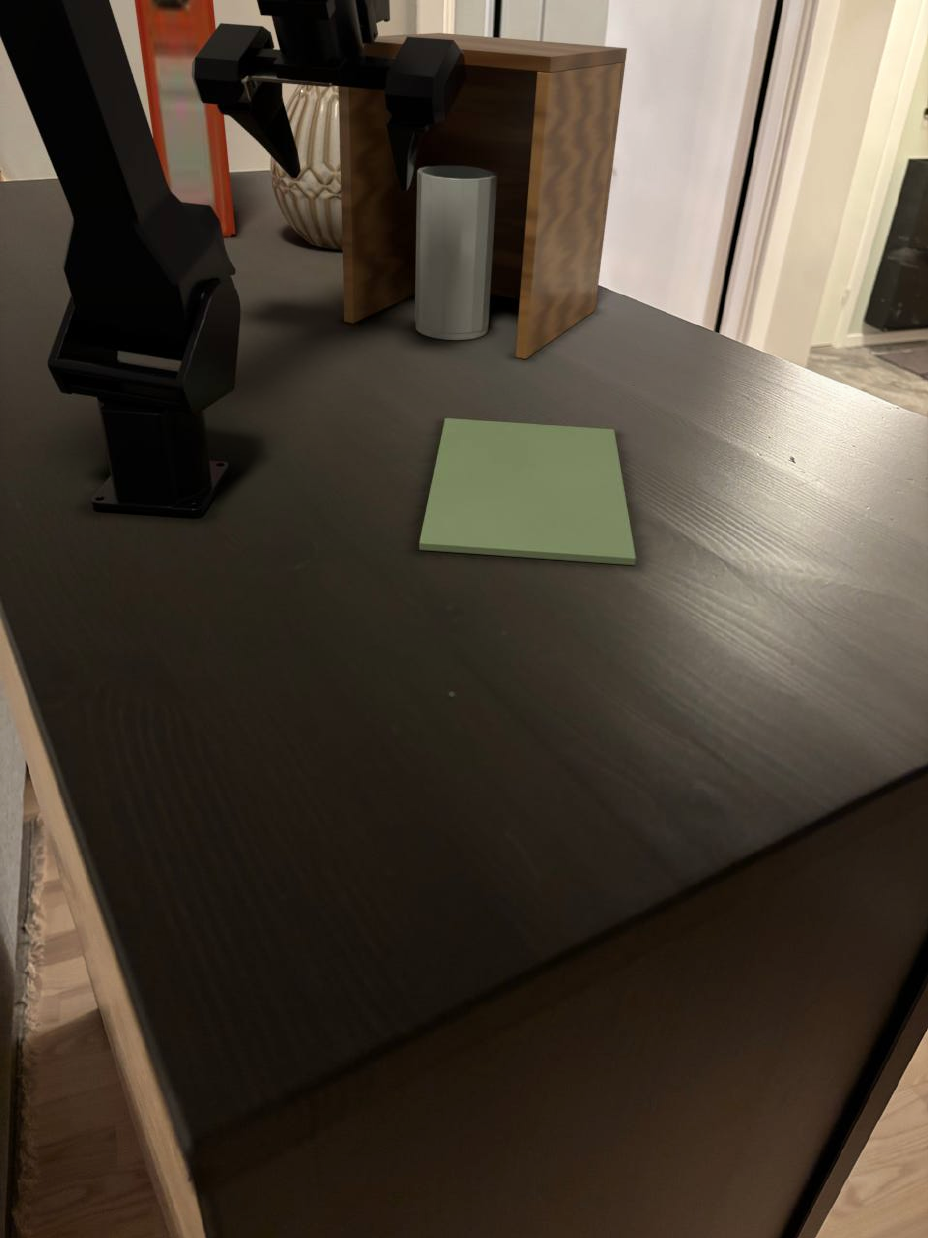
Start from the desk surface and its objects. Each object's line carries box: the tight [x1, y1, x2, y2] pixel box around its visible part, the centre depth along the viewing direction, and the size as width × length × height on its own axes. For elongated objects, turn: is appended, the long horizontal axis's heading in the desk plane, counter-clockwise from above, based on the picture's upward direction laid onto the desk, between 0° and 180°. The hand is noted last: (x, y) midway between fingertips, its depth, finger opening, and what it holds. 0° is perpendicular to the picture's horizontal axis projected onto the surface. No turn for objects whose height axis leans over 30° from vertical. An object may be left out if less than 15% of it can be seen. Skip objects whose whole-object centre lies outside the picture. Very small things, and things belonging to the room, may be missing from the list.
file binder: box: [134, 0, 236, 237], centre depth 108 cm, size 8×17×32 cm, turn 14°
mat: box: [418, 417, 637, 566], centre depth 60 cm, size 18×12×1 cm, turn 176°
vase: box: [269, 84, 343, 251], centre depth 106 cm, size 16×16×20 cm
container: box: [414, 165, 498, 341], centre depth 82 cm, size 7×7×13 cm
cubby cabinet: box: [338, 32, 628, 360], centre depth 83 cm, size 17×18×22 cm
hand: (350, 180), depth 74 cm, fingers open, 9 cm apart
